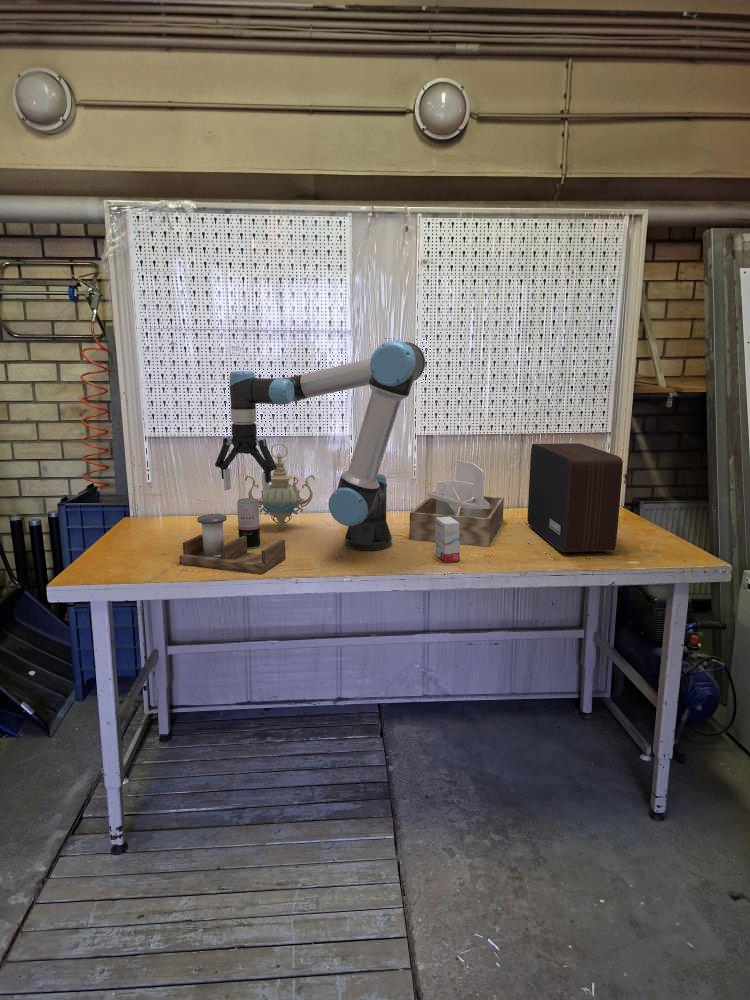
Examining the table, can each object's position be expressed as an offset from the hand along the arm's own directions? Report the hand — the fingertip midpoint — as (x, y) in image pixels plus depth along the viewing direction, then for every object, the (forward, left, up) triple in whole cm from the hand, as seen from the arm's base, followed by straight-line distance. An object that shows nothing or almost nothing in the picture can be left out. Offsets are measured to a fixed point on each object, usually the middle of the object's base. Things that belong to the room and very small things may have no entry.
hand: (246, 491), depth 194 cm
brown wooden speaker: (-96, -40, -18) cm, 106 cm away
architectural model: (-60, -40, -19) cm, 75 cm away
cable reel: (+3, +14, -17) cm, 23 cm away
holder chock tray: (-59, -40, -18) cm, 74 cm away
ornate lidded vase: (0, -22, -18) cm, 28 cm away
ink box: (-62, -8, -18) cm, 65 cm away
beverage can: (0, 0, -18) cm, 18 cm away
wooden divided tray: (-4, +15, -18) cm, 24 cm away
